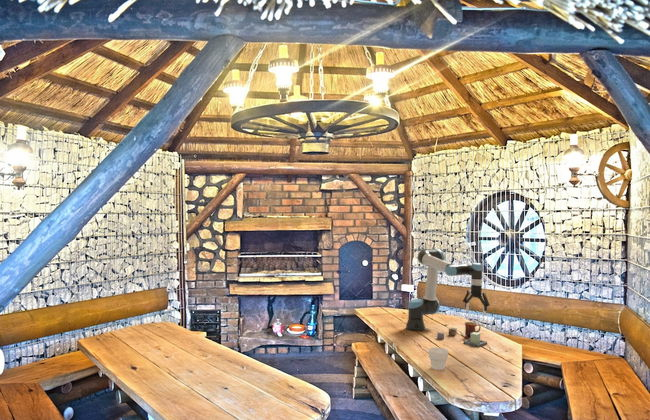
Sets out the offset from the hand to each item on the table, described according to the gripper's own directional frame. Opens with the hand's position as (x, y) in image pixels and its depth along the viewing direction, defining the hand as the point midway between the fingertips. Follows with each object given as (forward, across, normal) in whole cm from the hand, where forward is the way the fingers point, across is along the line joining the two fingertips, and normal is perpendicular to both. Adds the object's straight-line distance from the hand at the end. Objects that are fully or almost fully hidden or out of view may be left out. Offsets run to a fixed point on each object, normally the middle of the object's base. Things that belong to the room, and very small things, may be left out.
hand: (475, 313), depth 377 cm
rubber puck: (+22, -25, -7) cm, 34 cm away
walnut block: (+22, -25, +9) cm, 34 cm away
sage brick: (+21, 0, 0) cm, 21 cm away
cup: (+22, +13, -66) cm, 71 cm away
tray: (+22, 0, 0) cm, 22 cm away
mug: (+22, -12, +16) cm, 30 cm away
